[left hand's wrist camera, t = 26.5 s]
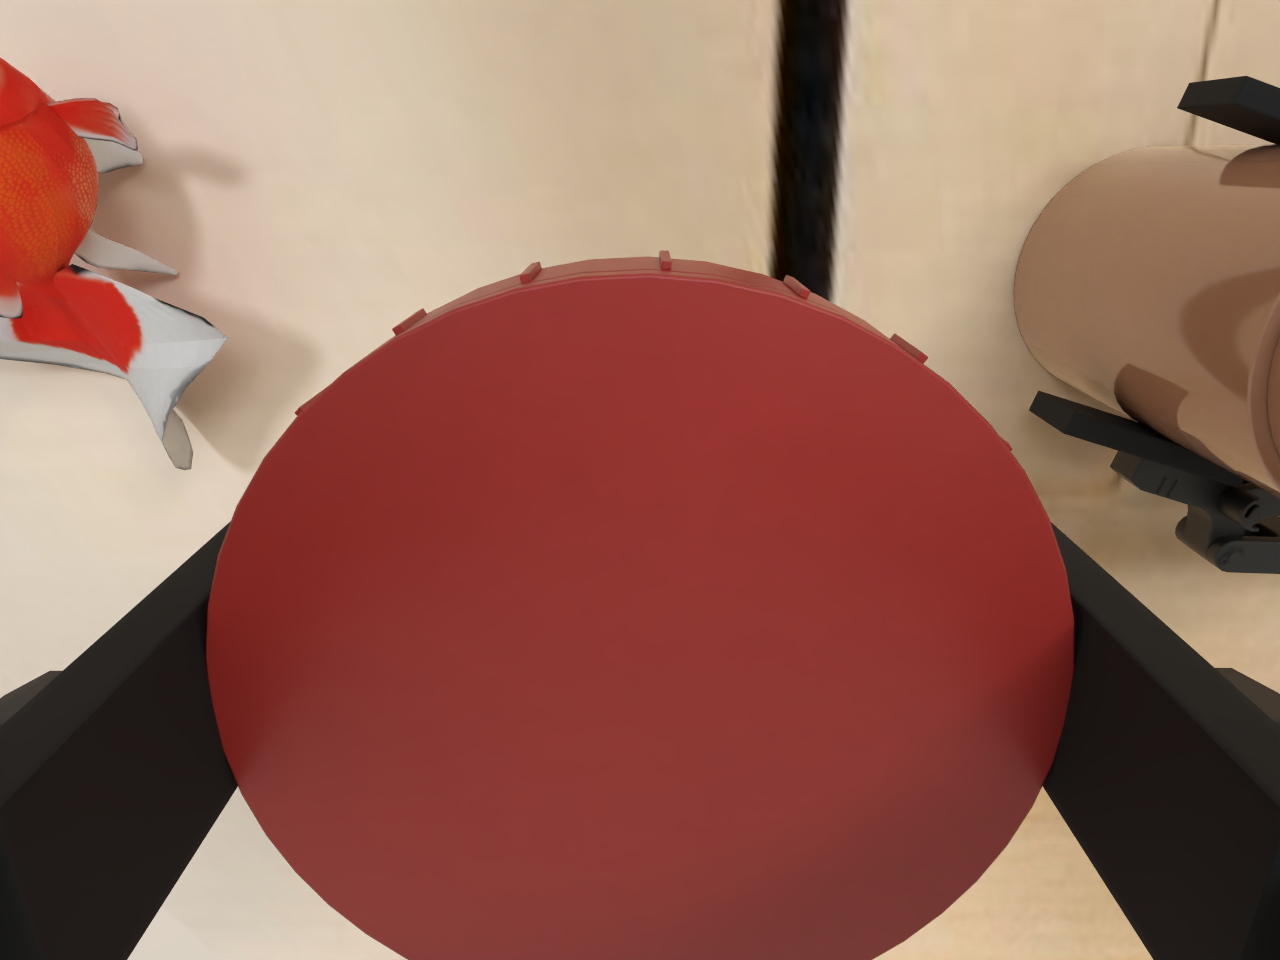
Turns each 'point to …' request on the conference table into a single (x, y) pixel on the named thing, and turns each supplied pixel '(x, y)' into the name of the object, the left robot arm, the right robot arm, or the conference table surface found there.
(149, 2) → the conference table surface
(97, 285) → the fish
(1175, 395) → the jar
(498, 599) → the lid
